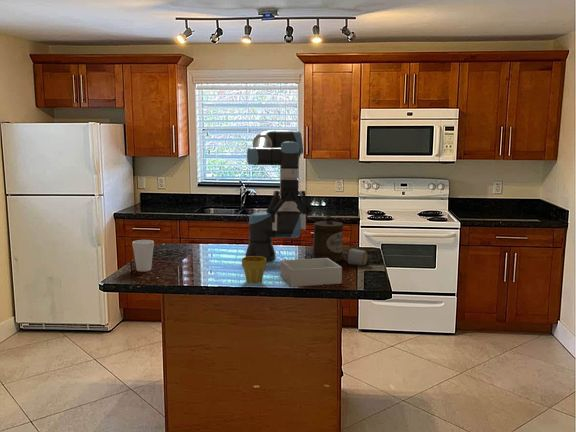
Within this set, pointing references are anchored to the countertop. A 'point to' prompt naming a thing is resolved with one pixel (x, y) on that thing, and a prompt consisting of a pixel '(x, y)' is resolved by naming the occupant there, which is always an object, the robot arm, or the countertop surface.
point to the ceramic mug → (357, 257)
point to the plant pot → (254, 268)
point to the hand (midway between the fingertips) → (289, 229)
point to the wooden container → (328, 239)
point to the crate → (310, 272)
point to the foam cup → (143, 254)
